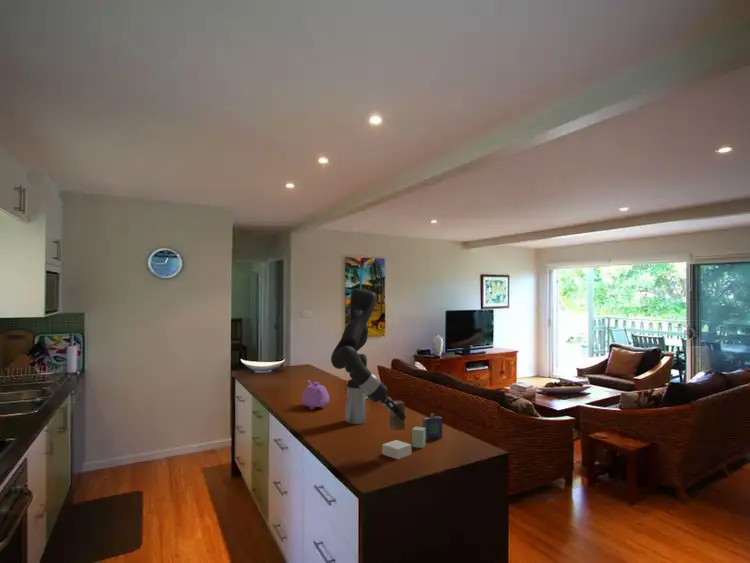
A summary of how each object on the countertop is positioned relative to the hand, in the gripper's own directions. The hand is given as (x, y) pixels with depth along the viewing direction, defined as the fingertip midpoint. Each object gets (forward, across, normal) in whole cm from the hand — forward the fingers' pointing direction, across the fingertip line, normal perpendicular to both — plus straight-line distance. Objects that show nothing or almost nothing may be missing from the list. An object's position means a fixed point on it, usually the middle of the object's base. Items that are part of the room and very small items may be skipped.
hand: (401, 417), depth 165 cm
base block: (+9, 0, +12) cm, 15 cm away
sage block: (+17, +8, +3) cm, 19 cm away
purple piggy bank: (-7, +82, +27) cm, 87 cm away
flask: (+24, +15, -4) cm, 28 cm away
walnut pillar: (+2, 0, +4) cm, 5 cm away
